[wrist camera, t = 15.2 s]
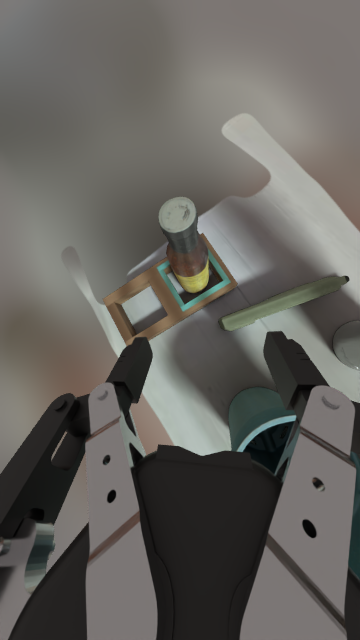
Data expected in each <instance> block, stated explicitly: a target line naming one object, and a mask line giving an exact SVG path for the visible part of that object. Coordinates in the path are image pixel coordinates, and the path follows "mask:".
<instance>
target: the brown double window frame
mask: <svg viewBox="0 0 360 640" xmlns="http://www.w3.org/2000/svg"><path fill="white" fill-rule="evenodd" d="M200 236H201V237H202V238H203V240H204V241H205V242H206V244H207V247H208V255H209V267H210V269H211V270H212V272H213V273H214V275H215V276H216V278H217V279H218V281H219V282H220V283H219V284H217V285H216V286H214V287H212V288H211V289H209V290H207V291H206V292H204V293H203V294H201V295H199V296H198V297H196V298H195V299H193V300H191V301H190V302H188V303H187V304H184V302H183V301H182V299H181V298H180V296H179V294H178V293H177V291H176V289H175V288H174V286H173V284H172V283H171V281H170V279H169V278H168V276H167V274H169V273H170V272H172V271H173V270H172V268H171V265H170V263H169V261H168V258H167V257H166V258H164V259H163V260H161V261H160V262H158V263H157V264H155V265H154V266H152V267H151V268H149V269H148V270H146V271H145V272H143V273H142V274H140V275H139V276H137V277H136V278H134V279H133V280H131V281H130V282H128V283H127V284H125V285H124V286H122V287H120V288H119V289H117V290H116V291H114V292H113V293H111V294H110V295H108V296H107V297H105V298H104V299H103V301H104V303H105V305H106V307H107V309H108V311H109V313H110V315H111V317H112V318H113V320H114V322H115V324H116V326H117V328H118V330H119V332H120V334H121V336H122V338H123V340H124V342H125V343H126V345H127V346H128V345H131V344H132V342H133V340H134V338H135V337H147V339H148V341H149V340H151V339H153V338H154V337H156V336H157V335H159V334H161V333H162V332H164V331H166V330H167V329H169V328H171V327H172V326H174V325H175V324H177V323H179V322H180V321H182V320H184V319H185V318H187V317H189V316H190V315H192V314H193V313H195V312H197V311H198V310H200V309H202V308H203V307H205V306H207V305H208V304H210V303H211V302H213V301H215V300H216V299H218V298H220V297H221V296H223V295H225V294H226V293H228V292H229V291H231V290H233V289H234V288H235V287H236V286H237V284H238V283H237V282H236V281H235V279H234V278H233V276H232V275H231V273H230V272H229V270H228V269H227V267H226V266H225V264H224V263H223V262H222V260H221V259H220V257H219V256H218V254H217V253H216V251H215V250H214V248H213V247H212V245H211V244H210V243H209V241H208V240H207V238H206V237H205V235H204V234H203V233H202V234H201V235H200ZM150 285H151V286H152V288H153V290H154V292H155V293H156V295H157V297H158V298H159V300H160V302H161V304H162V305H163V307H164V309H165V310H166V312H167V314H168V316H166V317H165V318H163V319H161V320H160V321H158V322H157V323H155V324H153V325H152V326H150V327H149V328H147V329H145V330H144V331H142V332H141V333H139V334H137V333H136V332H135V330H134V328H133V326H132V324H131V322H130V320H129V319H128V317H127V315H126V313H125V311H124V309H123V307H122V305H121V304H122V303H124V302H125V301H127V300H129V299H130V298H132V297H133V296H135V295H136V294H138V293H139V292H141V291H142V290H144V289H146V288H147V287H149V286H150Z"/></svg>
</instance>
